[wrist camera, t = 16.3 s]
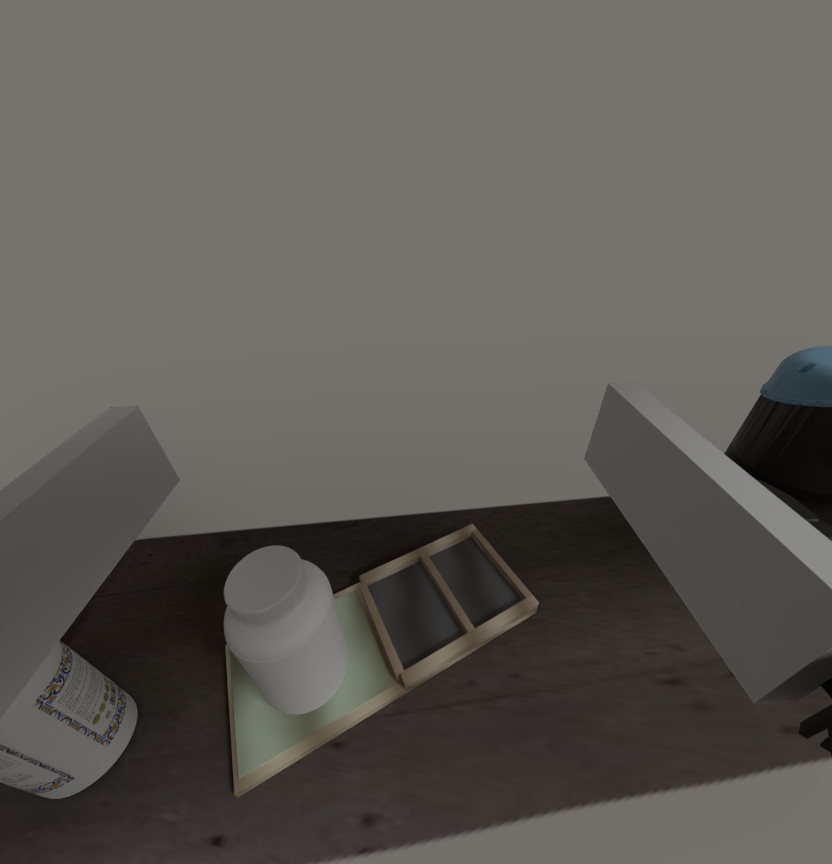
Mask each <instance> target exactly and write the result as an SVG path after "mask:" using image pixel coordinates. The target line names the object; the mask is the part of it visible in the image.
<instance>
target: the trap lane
mask: <svg viewBox="0 0 832 864" xmlns="http://www.w3.org/2000/svg"><path fill="white" fill-rule="evenodd" d="M359 579H360V582H359V583H357V584H355V585H353V586H351V587H349V588H346V589H344V590H342V591H340V592H338V593H336V594H334V595H333V596H334V599H335V603H336V606H337V609H338V613H339V616H340V619H341V623H342V626H343V629H344V633H345V636H346V639H347V643H348V649H349V662H348V668H347V671H346V675H345V677H344V679H343V682H342V684H341V685H340V687H339V689H338V690H337V691H336V693H335V694H334V695H333V696H332V697H331V698H330V699H329V700H328V701H327V702H326V703H325V704H324V705H322V706H321V707H319V708H317V709H316V710H314V711H311V712H308V713H305V714H299V715H292V714H287V713H284V712H281V711H279V710H278V709H276V708H275V707H274V706H272V705H271V704H270V703H269V701H268V700H267V699H266V697H265V696H264V695H263V693H262V692H261V691H260V689H259V688H258V686H257V685H256V684H255V682H254V681H253V680H252V678H251V677H250V676H249V674H248V673H247V672H246V670H245V669H244V667H243V666H242V665H241V663H240V662H239V661H238V659H237V658H236V657H235V655H234V654H233V652H232V651H231V650H230V648H229V646H228V644H227V645H225V649H226V665H227V681H228V698H229V714H230V730H231V747H232V763H233V779H234V795H235V796H236V797H240V796H241V795H243V794H245V793H246V792H248V791H249V790H251V789H253V788H254V787H256V786H257V785H259V784H261V783H262V782H264V781H265V780H267V779H269V778H270V777H272V776H274V775H275V774H277V773H278V772H280V771H282V770H283V769H285V768H286V767H288V766H290V765H291V764H293V763H294V762H296V761H298V760H299V759H301V758H303V757H304V756H306V755H307V754H309V753H311V752H312V751H314V750H315V749H317V748H319V747H320V746H322V745H323V744H325V743H327V742H328V741H330V740H332V739H333V738H335V737H336V736H338V735H340V734H341V733H343V732H344V731H346V730H348V729H349V728H351V727H352V726H354V725H356V724H357V723H359V722H361V721H362V720H364V719H365V718H367V717H369V716H370V715H372V714H373V713H375V712H377V711H378V710H380V709H381V708H383V707H385V706H386V705H388V704H390V703H391V702H393V701H394V700H396V699H398V698H399V697H401V696H402V695H404V694H406V693H407V692H409V691H410V690H412V689H414V688H415V687H417V686H419V685H420V684H422V683H423V682H425V681H427V680H428V679H430V678H431V677H433V676H435V675H436V674H438V673H439V672H441V671H443V670H444V669H446V668H448V667H449V666H451V665H452V664H454V663H456V662H457V661H459V660H460V659H462V658H464V657H465V656H467V655H468V654H470V653H472V652H473V651H475V650H477V649H478V648H480V647H481V646H483V645H485V644H486V643H488V642H489V641H491V640H493V639H494V638H496V637H497V636H499V635H501V634H502V633H504V632H506V631H507V630H509V629H510V628H512V627H514V626H515V625H517V624H518V623H520V622H522V621H523V620H525V619H527V618H528V617H530V616H531V615H533V614H535V613H536V611H537V607H538V604H539V602H538V601H537V600H536V598H535V597H534V596H533V595H532V594H531V593H530V591H529V590H528V589H527V588H526V587H525V585H524V584H523V583H522V582H521V581H520V579H519V578H518V577H517V576H516V575H515V574H514V572H513V571H512V570H511V569H510V568H509V566H508V565H507V564H506V563H505V562H504V560H503V559H502V558H501V557H500V556H499V555H498V553H497V552H496V551H495V550H494V549H493V547H492V546H491V545H490V544H489V543H488V541H487V540H486V539H485V538H484V537H483V536H482V534H481V533H480V532H479V531H478V530H477V528H476V527H475V526H474V525H473V524H471V525H469V526H466V527H464V528H462V529H460V530H458V531H456V532H453V533H451V534H449V535H447V536H445V537H442V538H440V539H438V540H436V541H434V542H432V543H429V544H427V545H425V546H423V547H421V548H419V549H416V550H414V551H412V552H410V553H408V554H406V555H403V556H401V557H399V558H397V559H395V560H393V561H390V562H388V563H386V564H384V565H382V566H379V567H377V568H375V569H373V570H371V571H369V572H366V573H364V574H362V575H360V576H359Z"/></svg>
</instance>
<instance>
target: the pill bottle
mask: <svg viewBox="0 0 832 864" xmlns="http://www.w3.org/2000/svg"><path fill="white" fill-rule="evenodd" d="M224 599H225V602H226V604H227V608H226V611H225V616H224V635H225V639H226V642H227V644H228V646H229V648H230V650H231V651H232V652H233V654H234V655H235V657H236V658H237V659H238V661H239V662H240V663H241V665H242V666H243V667H244V669H245V670H246V672H247V673H248V674H249V676H250V677H251V678H252V680H253V681H254V682H255V684H256V685H257V686H258V688H259V689H260V691H261V692H262V693H263V695H264V696H265V697H266V699H267V700H268V701H269V703H270V704H271V705H272V706H274V707H275V708H276V709H278V710H279V711H281V712H284V713H287V714H292V715H299V714H305V713H308V712H311V711H314V710H316V709H317V708H319V707H321V706H322V705H324V704H325V703H326V702H327V701H328V700H329V699H330V698H331V697H332V696H333V695H334V694H335V693H336V691H337V690H338V689H339V687H340V685H341V684H342V682H343V679H344V677H345V675H346V671H347V668H348V662H349V649H348V643H347V639H346V636H345V633H344V629H343V626H342V623H341V619H340V616H339V613H338V609H337V606H336V603H335V599H334V596H333V593H332V589H331V586H330V583H329V581H328V579H327V577H326V575H325V574H324V573H323V571H322V570H320V569H319V568H318V567H317V566H316V565H314V564H313V563H311V562H308V561H306V560H302V559H301V558H300V556H299V555H298V554H297V553H296V552H295V551H294V550H292V549H290V548H288V547H285V546H267V547H263V548H260V549H258V550H256V551H254V552H252V553H250V554H248V555H247V556H245V557H244V558H243V559H242V560H240V561H239V562H238V563H237V564H236V566H235V567H234V568H233V569H232V571H231V572H230V574H229V576H228V578H227V580H226V583H225V586H224Z"/></svg>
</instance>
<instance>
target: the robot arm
mask: <svg viewBox="0 0 832 864" xmlns="http://www.w3.org/2000/svg"><path fill="white" fill-rule="evenodd" d="M760 393H761V395H760V397H759V398H758V400H757V402H756V403H755V405H754V407H753V408H752V410H751V411H750V413H749V414H748V416H747V418H746V420H745V421H744V423H743V424H742V426H741V427H740V429H739V431H738V432H737V434H736V435H735V437H734V439H733V441H732V442H731V444H730V445H729V447H728V449H727V450H726V452H725V453H724V454H723V453H722V452H721V451H720V450H718V449H717V448H716V447H715V446H714V445H712V444H711V443H710V442H709V441H707V440H706V439H705V438H704V437H702V436H701V435H700V434H699V433H698V432H696V431H695V430H694V429H693V428H691V427H690V426H689V425H688V424H686V423H685V422H684V421H683V420H681V419H680V418H679V417H678V416H677V415H675V414H674V413H673V412H672V411H670V410H669V409H668V408H667V407H665V406H664V405H663V404H662V403H661V402H659V401H658V400H657V399H656V398H654V397H653V396H652V395H651V394H649V393H648V392H647V391H646V390H645V389H643V388H642V387H641V386H640V385H638V384H637V383H636V382H620V383H608V386H607V389H606V392H605V395H604V398H603V401H602V405H601V408H600V411H599V414H598V417H597V421H596V424H595V427H594V430H593V433H592V436H591V440H590V443H589V446H588V450H587V452H586V456H585V460H586V462H587V463H588V465H589V466H590V468H591V469H592V470H593V472H594V473H595V475H596V476H597V478H598V479H599V480H600V482H601V483H602V485H603V486H604V488H605V489H606V491H607V492H608V493H609V495H610V496H611V498H612V499H613V501H614V502H615V504H616V505H617V507H618V508H619V509H620V511H621V512H622V514H623V515H624V517H625V518H626V520H627V521H628V522H629V524H630V525H631V527H632V528H633V530H634V531H635V533H636V534H637V535H638V537H639V538H640V540H641V541H642V543H643V544H644V546H645V547H646V548H647V550H648V551H649V553H650V554H651V556H652V557H653V559H654V560H655V561H656V563H657V564H658V566H659V567H660V569H661V570H662V572H663V573H664V574H665V576H666V577H667V579H668V580H669V582H670V583H671V585H672V586H673V587H674V589H675V590H676V592H677V593H678V595H679V596H680V598H681V599H682V600H683V602H684V603H685V605H686V606H687V608H688V609H689V611H690V612H691V613H692V615H693V616H694V618H695V619H696V621H697V622H698V624H699V625H700V626H701V628H702V629H703V631H704V632H705V634H706V635H707V637H708V638H709V639H710V641H711V642H712V644H713V645H714V647H715V648H716V650H717V651H718V652H719V654H720V655H721V657H722V658H723V660H724V661H725V663H726V664H727V665H728V667H729V668H730V670H731V671H732V673H733V674H734V676H735V677H736V679H737V680H738V681H739V683H740V684H741V686H742V687H743V689H744V690H745V692H746V693H747V694H748V696H749V697H750V699H751V700H752V702H753V703H754V704H756V703H772V702H787V701H798V700H800V699H801V698H803V697H804V696H806V695H808V694H809V693H811V692H812V691H814V690H815V689H817V688H818V687H820V686H822V688H823V689H824V690H825V691H826V692H827V693H828V695H829V696H830V697H831V698H832V346H825V347H824V346H823V347H815V348H809V349H805V350H802V351H799V352H796V353H794V354H792V355H790V356H788V357H787V358H786V359H784V360H783V361H782V362H781V364H780V365H779V366H778V368H777V369H776V371H775V372H774V374H773V375H772V377H771V378H770V379H769V381H768V382H767V383H765V384H764V385H763V386H762V388H761V390H760ZM179 480H180V479H179V477H178V476H177V474H176V472H175V470H174V469H173V467H172V465H171V464H170V462H169V460H168V458H167V456H166V455H165V453H164V451H163V449H162V447H161V446H160V444H159V442H158V440H157V439H156V437H155V435H154V433H153V431H152V430H151V428H150V426H149V425H148V423H147V421H146V419H145V417H144V415H143V414H142V412H141V410H140V408H139V407H138V406H127V407H110V408H109V409H107V410H106V411H105V412H103V413H102V414H101V415H99V416H98V417H97V418H95V419H94V420H93V421H91V422H90V423H89V424H87V425H86V426H85V427H84V428H82V429H81V430H79V431H78V432H77V433H76V434H74V435H73V436H72V437H71V438H69V439H68V440H67V441H65V442H64V443H62V444H61V445H60V446H59V447H57V448H56V449H54V450H53V451H52V452H50V453H49V454H48V455H47V456H45V457H44V458H42V459H41V460H40V461H39V462H37V463H36V464H35V465H33V466H32V467H31V468H29V469H28V470H27V471H25V472H24V473H23V474H21V475H20V476H19V477H17V478H16V479H15V480H14V481H12V482H11V483H10V484H8V485H7V486H5V487H4V488H3V489H2V490H0V719H1V718H2V716H3V715H4V714H5V712H6V711H7V710H8V708H9V707H10V706H11V704H12V703H13V702H14V700H15V699H16V698H17V696H18V695H19V694H20V692H21V691H22V690H23V688H24V687H25V686H26V684H27V683H28V682H29V680H30V679H31V678H32V676H33V675H34V674H35V672H36V671H37V670H38V668H39V667H40V666H41V664H42V663H43V662H44V660H45V659H46V658H47V656H48V655H49V654H50V652H51V651H52V650H53V648H54V647H55V646H56V644H57V643H58V642H59V640H60V639H61V638H62V636H63V635H64V634H65V632H66V631H67V630H68V628H69V627H70V626H71V624H72V623H73V622H74V620H75V619H76V618H77V616H78V615H79V614H80V612H81V611H82V610H83V608H84V607H85V606H86V604H87V603H88V602H89V600H90V599H91V598H92V596H93V595H94V594H95V592H96V591H97V590H98V588H99V587H100V586H101V584H102V583H103V582H104V580H105V579H106V578H107V576H108V575H109V574H110V572H111V571H112V570H113V568H114V567H115V566H116V564H117V563H118V562H119V560H120V559H121V558H122V556H123V555H124V554H125V552H126V551H127V550H128V548H129V547H130V546H131V544H132V543H133V542H134V540H135V539H136V538H137V536H138V535H139V534H140V532H141V531H142V530H143V528H144V527H145V526H146V524H147V523H148V522H149V520H150V519H151V518H152V516H153V515H154V514H155V512H156V511H157V510H158V508H159V507H160V506H161V504H162V503H163V502H164V500H165V499H166V498H167V496H168V495H169V493H171V491H172V490H173V489H174V487H175V486H176V485H177V483H178V482H179ZM827 728H828V734H829V737H828V738H826V739H825V740H824V741H823V742H822V743H821V744H820V746H821V747H823V748H824V749H826V750H828V751H829V752H831V756H832V705H830V706H828V707H826V708H825V709H823V710H821V711H819V712H818V713H816V714H814V715H813V716H811V717H809V718H807V719H806V720H804V721H802V722H801V724H800V729H799V734H800V735H802V736H803V737H805V738H807V739H808V738H810V737H812V736H813V735H815V734H817V733H819V732H821V731H823V730H825V729H827Z"/></svg>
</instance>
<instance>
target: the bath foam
mask: <svg viewBox="0 0 832 864" xmlns="http://www.w3.org/2000/svg"><path fill="white" fill-rule="evenodd" d="M136 722H137V706H136V703H135V701H134V699H133V698H132V697H131V696H130V695H129V694H127V693H126V692H125V691H124V690H122V689H121V688H120V687H119V686H118V685H116V684H115V683H114V682H113V681H111V680H110V679H109V678H107V677H106V676H105V675H104V674H102V673H101V672H100V671H99V670H97V669H96V668H95V667H93V666H92V665H91V664H90V663H88V662H87V661H86V660H84V659H83V658H82V657H81V656H79V655H78V654H77V653H75V652H74V651H73V650H72V649H70V648H69V647H68V646H67V645H65V644H64V643H63V642H61V641H60V640H59V642H58V643H57V644H56V646H55V647H54V648H53V650H52V651H51V652H50V654H49V655H48V656H47V658H46V659H45V660H44V662H43V663H42V664H41V666H40V667H39V668H38V670H37V671H36V672H35V674H34V675H33V676H32V678H31V679H30V680H29V682H28V683H27V684H26V686H25V687H24V688H23V690H22V691H21V692H20V694H19V695H18V696H17V698H16V699H15V700H14V702H13V703H12V704H11V706H10V707H9V708H8V710H7V711H6V712H5V714H4V715H3V716H2V718H1V719H0V782H1V783H3V784H6V785H9V786H12V787H15V788H18V789H21V790H24V791H26V792H29V793H33V794H36V795H39V796H42V797H45V798H50V799H59V798H65V797H68V796H71V795H74V794H76V793H78V792H80V791H82V790H84V789H85V788H87V787H88V786H90V785H91V784H93V783H94V782H95V781H97V780H98V779H99V778H100V777H101V776H103V775H104V774H105V773H106V772H107V771H108V770H109V769H110V768H111V767H112V765H113V764H114V763H115V762H116V761H117V760H118V758H119V757H120V756H121V754H122V753H123V751H124V750H125V748H126V747H127V745H128V743H129V741H130V739H131V737H132V735H133V732H134V730H135V726H136Z"/></svg>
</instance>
